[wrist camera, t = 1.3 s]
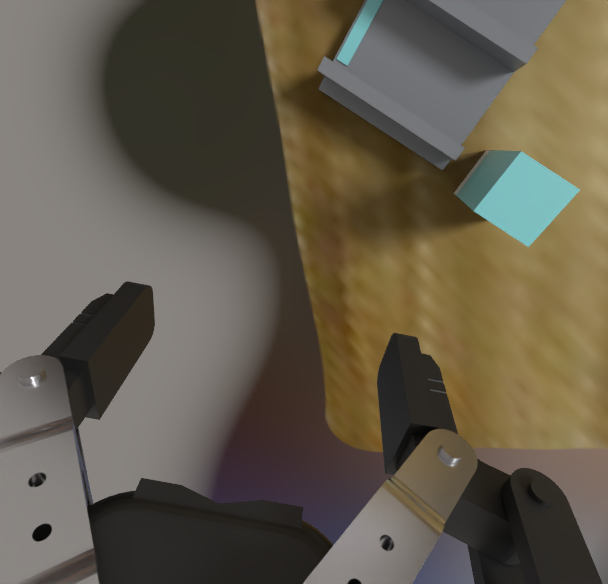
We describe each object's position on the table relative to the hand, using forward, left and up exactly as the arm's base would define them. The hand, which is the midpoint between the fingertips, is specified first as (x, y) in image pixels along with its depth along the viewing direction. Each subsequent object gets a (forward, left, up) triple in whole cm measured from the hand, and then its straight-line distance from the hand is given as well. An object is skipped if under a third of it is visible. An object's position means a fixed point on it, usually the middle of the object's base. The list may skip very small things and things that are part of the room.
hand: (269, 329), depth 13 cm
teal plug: (-8, +8, -25) cm, 27 cm away
